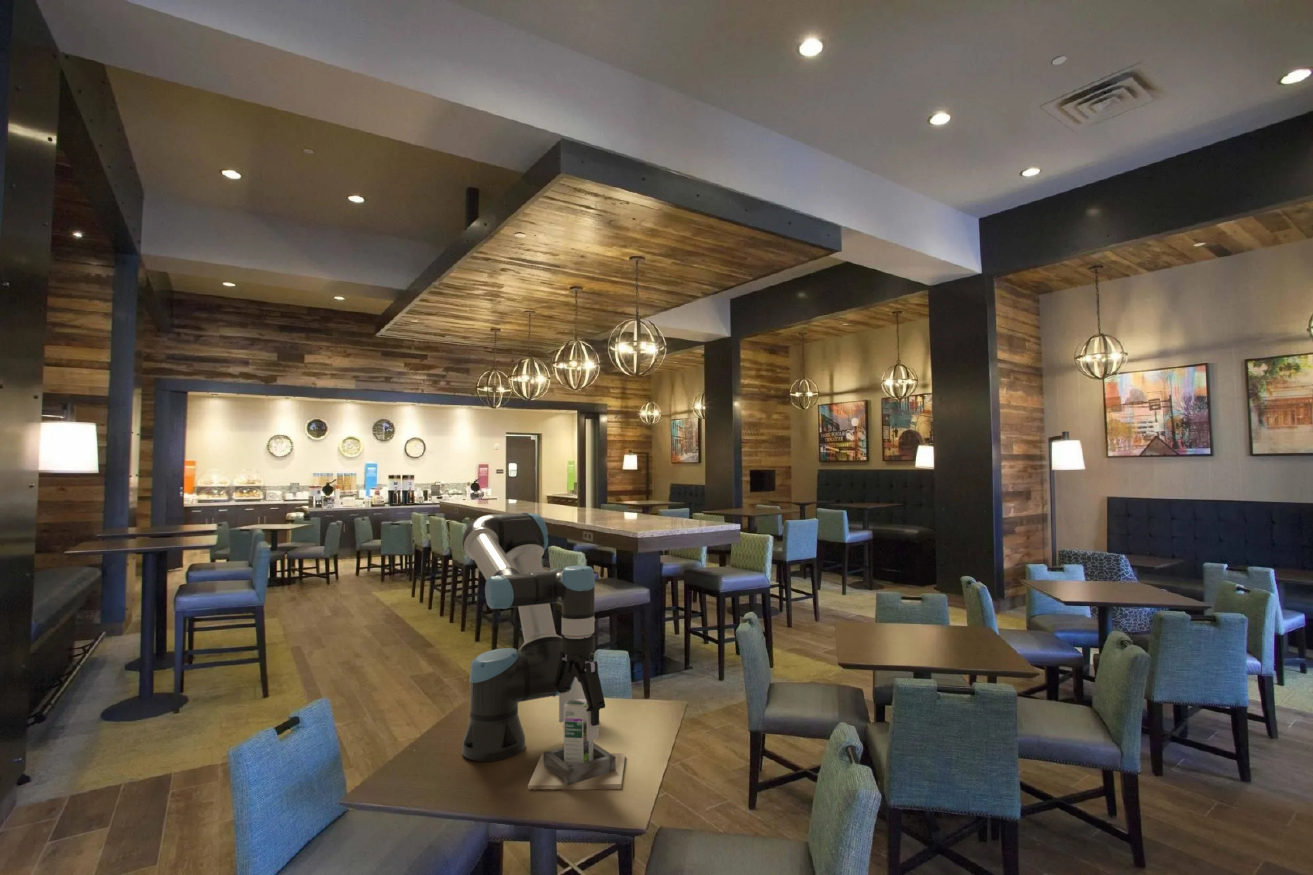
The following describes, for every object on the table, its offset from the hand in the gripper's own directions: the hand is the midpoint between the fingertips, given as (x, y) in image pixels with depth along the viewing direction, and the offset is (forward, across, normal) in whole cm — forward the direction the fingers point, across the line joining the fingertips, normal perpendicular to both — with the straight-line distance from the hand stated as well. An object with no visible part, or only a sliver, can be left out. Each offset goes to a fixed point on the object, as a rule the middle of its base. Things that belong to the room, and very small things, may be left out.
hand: (578, 729), depth 145 cm
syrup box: (+9, 0, 0) cm, 9 cm away
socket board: (+9, 0, 0) cm, 9 cm away
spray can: (+10, +33, -16) cm, 38 cm away
